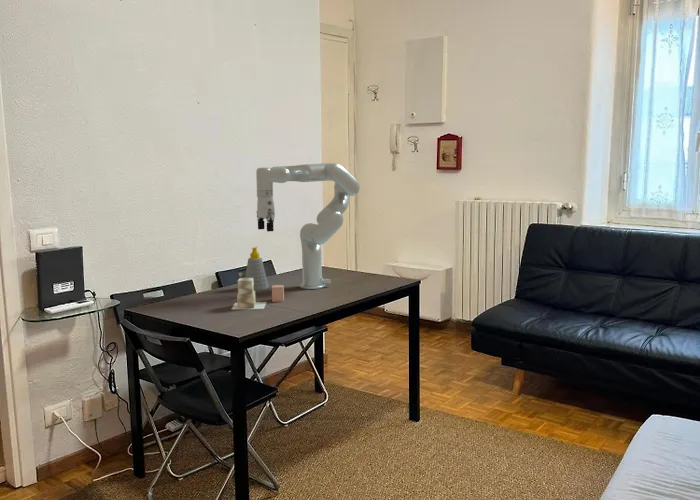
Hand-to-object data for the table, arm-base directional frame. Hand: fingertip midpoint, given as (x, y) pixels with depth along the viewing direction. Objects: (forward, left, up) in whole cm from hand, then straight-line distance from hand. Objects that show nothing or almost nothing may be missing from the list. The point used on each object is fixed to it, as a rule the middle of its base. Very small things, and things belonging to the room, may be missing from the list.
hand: (265, 230), depth 304 cm
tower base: (+7, +28, -30) cm, 42 cm away
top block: (-6, +18, -30) cm, 36 cm away
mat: (+6, +27, -30) cm, 41 cm away
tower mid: (+7, +28, -24) cm, 38 cm away
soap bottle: (+7, -11, -30) cm, 33 cm away
